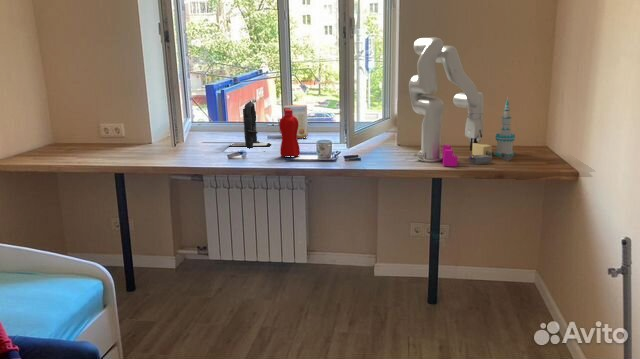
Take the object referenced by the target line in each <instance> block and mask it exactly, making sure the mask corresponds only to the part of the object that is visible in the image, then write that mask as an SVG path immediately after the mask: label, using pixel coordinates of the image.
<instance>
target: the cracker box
mask: <svg viewBox="0 0 640 359" xmlns="http://www.w3.org/2000/svg"><path fill="white" fill-rule="evenodd" d="M286 110H292V111H293V116H295V117H296V118H297V120H298V123H299V126H298V132H297V138H304V137H305V138H306V137H307V136H308V137H309V132H308V130H309V129H308V106H307V104H289V105H288V104H287V105H286V104H285V105H284V106H283V112H284V111H286Z"/></svg>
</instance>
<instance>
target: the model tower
mask: <svg viewBox="0 0 640 359" xmlns="http://www.w3.org/2000/svg"><path fill="white" fill-rule="evenodd" d="M510 110H511V109H510V102H509V97H507V99H506V102H505V106H504V109H503V111H504V112H503V116H501V128H500V133H495V141H496V150H495V152H494V153H493V155H494V156H496V157H501V153H506V154H509V155H511V157H514V156H515V153H514V152H513V149H514V148H513V147H514V146H513V144H514V141H515V138H516V135H515V134H514V133H512V132H511V123H512V122H511V121H512V117H511V113H510Z"/></svg>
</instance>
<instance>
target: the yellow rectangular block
mask: <svg viewBox="0 0 640 359" xmlns="http://www.w3.org/2000/svg"><path fill="white" fill-rule="evenodd" d="M492 153H493V145H490V144H487V143H485V142H484V143H483V142H478V143H473V144H472V151H471V156H473V155H484V154H485V155H488V156H491V157H492ZM492 158H493V157H492Z"/></svg>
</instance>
